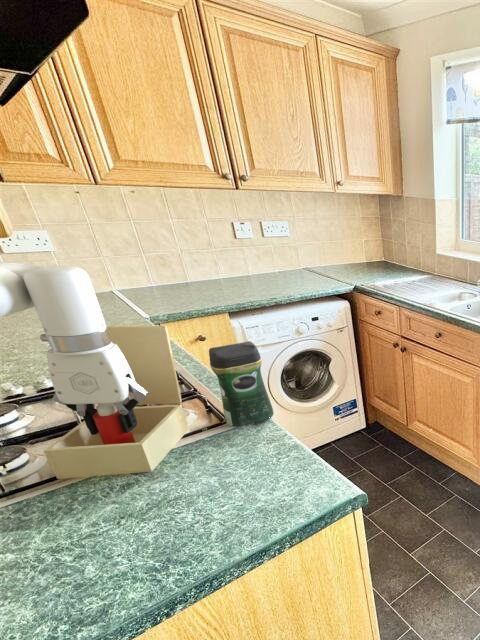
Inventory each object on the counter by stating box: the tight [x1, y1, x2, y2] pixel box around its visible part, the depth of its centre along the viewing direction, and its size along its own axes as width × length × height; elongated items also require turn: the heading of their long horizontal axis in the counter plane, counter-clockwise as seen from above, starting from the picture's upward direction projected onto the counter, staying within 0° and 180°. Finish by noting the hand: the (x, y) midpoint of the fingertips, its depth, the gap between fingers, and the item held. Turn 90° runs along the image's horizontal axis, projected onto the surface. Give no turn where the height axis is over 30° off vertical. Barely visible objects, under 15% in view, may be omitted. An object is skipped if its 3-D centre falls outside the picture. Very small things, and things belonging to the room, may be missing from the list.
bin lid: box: [97, 325, 183, 406], centre depth 86 cm, size 16×15×1 cm
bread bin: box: [43, 404, 190, 480], centre depth 82 cm, size 16×15×7 cm
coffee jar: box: [208, 340, 275, 428], centre depth 95 cm, size 10×8×19 cm
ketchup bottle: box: [92, 403, 136, 445], centre depth 80 cm, size 4×4×9 cm
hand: (114, 429), depth 80 cm, fingers closed on ketchup bottle, 4 cm apart
